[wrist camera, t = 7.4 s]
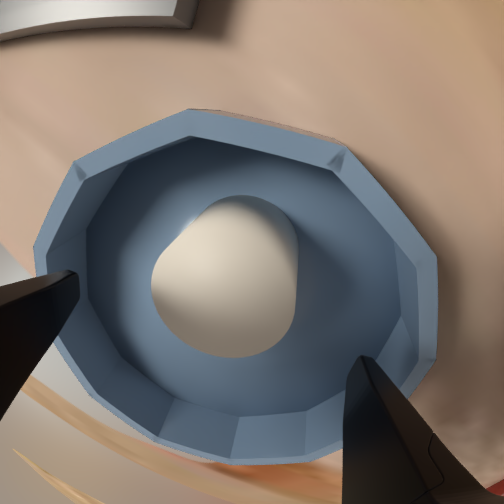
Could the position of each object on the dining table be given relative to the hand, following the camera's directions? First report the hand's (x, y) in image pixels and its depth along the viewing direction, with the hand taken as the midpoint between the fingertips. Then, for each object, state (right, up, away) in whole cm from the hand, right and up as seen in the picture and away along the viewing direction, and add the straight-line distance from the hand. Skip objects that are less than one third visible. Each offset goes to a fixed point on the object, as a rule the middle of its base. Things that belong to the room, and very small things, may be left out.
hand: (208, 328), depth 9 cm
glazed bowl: (0, 0, +7) cm, 7 cm away
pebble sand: (+1, +2, +5) cm, 6 cm away
